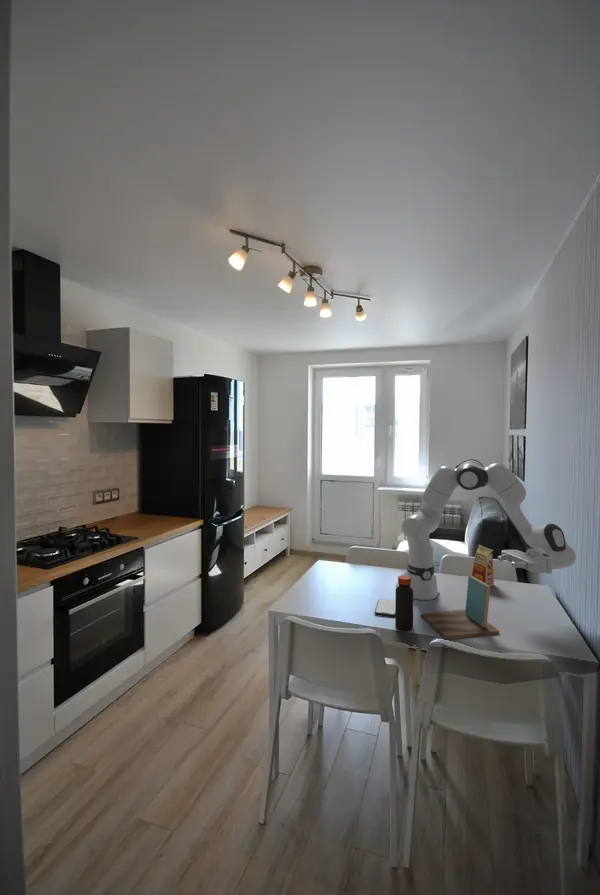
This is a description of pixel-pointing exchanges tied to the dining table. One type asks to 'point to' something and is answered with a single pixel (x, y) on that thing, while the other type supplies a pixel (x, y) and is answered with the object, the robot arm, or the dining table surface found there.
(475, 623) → the walnut board
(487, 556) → the milk carton
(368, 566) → the dining table surface
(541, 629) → the dining table surface
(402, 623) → the bottle
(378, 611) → the phone case
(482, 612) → the tile
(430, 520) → the robot arm
